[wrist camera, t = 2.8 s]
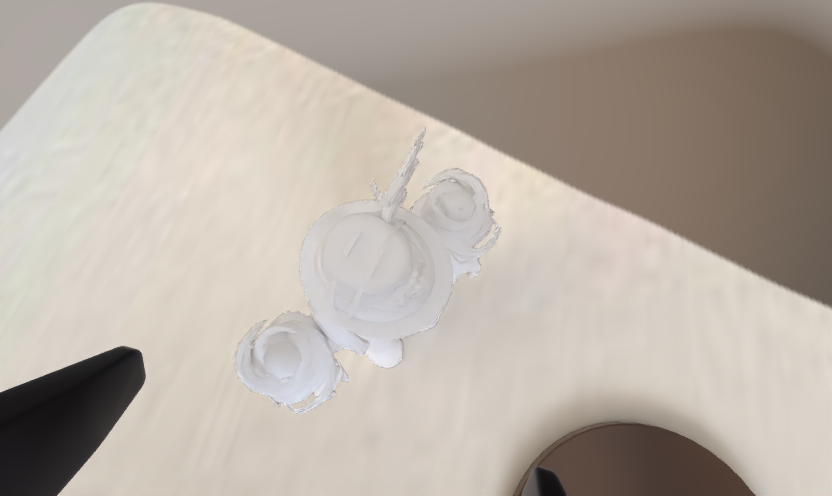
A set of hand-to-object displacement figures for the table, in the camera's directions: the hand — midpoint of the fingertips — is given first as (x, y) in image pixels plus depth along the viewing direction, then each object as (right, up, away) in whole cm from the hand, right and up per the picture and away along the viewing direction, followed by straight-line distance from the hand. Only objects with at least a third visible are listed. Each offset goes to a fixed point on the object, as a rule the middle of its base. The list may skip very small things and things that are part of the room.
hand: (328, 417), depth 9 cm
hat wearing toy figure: (+1, 0, +11) cm, 11 cm away
